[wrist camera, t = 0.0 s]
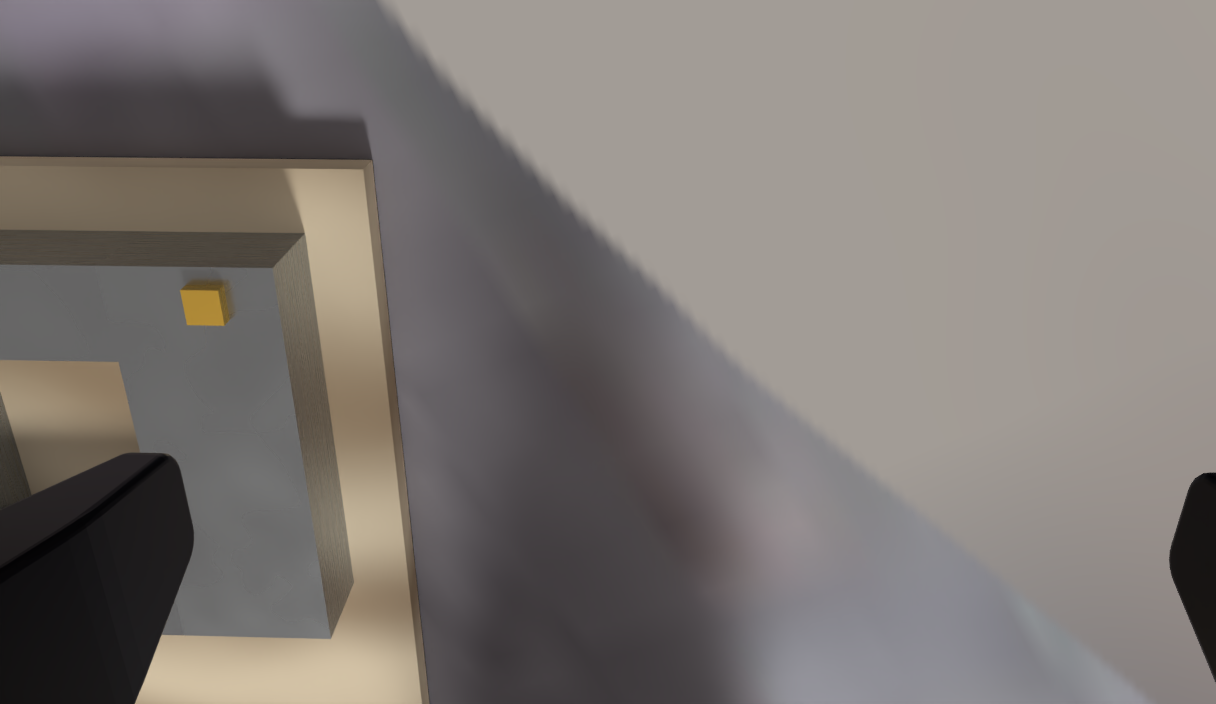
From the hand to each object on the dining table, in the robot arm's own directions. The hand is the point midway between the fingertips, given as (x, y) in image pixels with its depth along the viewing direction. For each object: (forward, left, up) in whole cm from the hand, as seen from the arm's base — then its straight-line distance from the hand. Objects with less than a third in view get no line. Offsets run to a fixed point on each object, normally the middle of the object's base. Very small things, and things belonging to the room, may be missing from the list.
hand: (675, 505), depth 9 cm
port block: (-7, +14, -15) cm, 22 cm away
